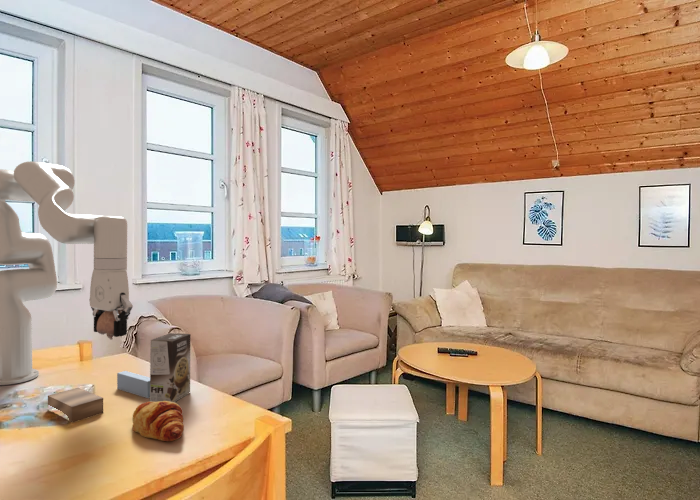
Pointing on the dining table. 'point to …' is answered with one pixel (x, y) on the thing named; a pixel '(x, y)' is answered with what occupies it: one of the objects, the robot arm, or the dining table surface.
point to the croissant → (159, 420)
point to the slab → (77, 404)
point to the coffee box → (169, 367)
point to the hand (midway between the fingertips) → (110, 333)
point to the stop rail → (134, 383)
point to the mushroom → (106, 324)
